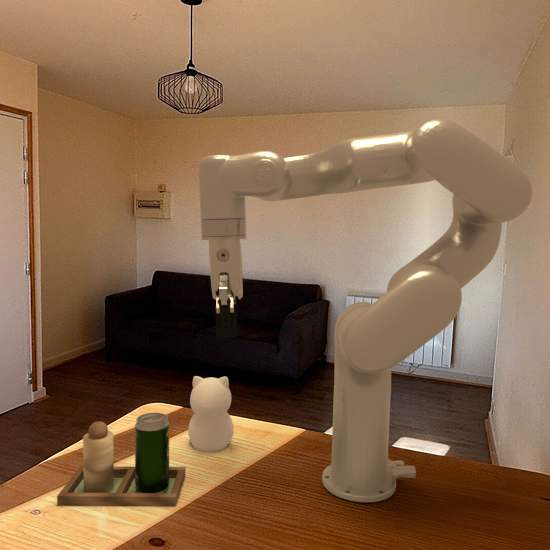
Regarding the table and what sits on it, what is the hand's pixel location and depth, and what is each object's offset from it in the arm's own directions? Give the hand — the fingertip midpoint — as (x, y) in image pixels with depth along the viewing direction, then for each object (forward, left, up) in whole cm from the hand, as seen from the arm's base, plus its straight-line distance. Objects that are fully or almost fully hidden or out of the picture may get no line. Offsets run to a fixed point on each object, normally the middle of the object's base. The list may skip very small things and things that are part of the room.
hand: (227, 331), depth 84 cm
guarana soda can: (+11, +6, -25) cm, 28 cm away
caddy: (+16, +6, -26) cm, 31 cm away
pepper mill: (+20, +6, -25) cm, 33 cm away
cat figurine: (+4, -13, -26) cm, 30 cm away
